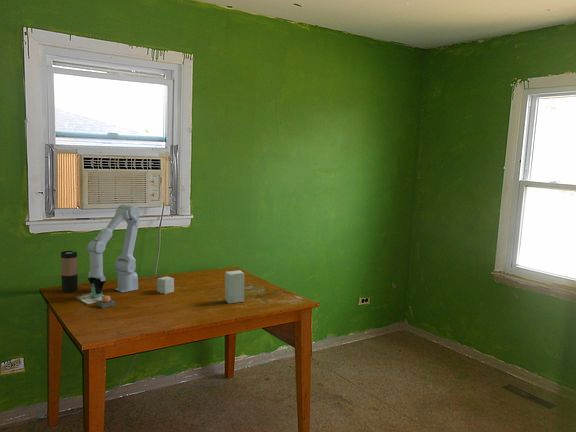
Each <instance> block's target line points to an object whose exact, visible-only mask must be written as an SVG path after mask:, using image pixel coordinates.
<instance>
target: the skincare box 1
mask: <svg viewBox="0 0 576 432" xmlns="http://www.w3.org/2000/svg"><path fill="white" fill-rule="evenodd" d="M159 292H160V294H163V293H164V295H167V294H170V293H174V292H175V278H174V277H170V276H162V277H158V278H157V293H159Z"/></svg>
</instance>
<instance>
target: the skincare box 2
mask: <svg viewBox="0 0 576 432" xmlns="http://www.w3.org/2000/svg"><path fill="white" fill-rule="evenodd" d="M224 286H225V287H224V289H225V290H224V291H225V292H224V293H225V295H224V296H225V297H224V299H225V300H224V301H226V302H227V304H235V303H244V302H245V272H243V271H242V270H241V269H239V270H238V269H237V270H232V271H224Z"/></svg>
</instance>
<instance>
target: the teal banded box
mask: <svg viewBox="0 0 576 432" xmlns="http://www.w3.org/2000/svg"><path fill="white" fill-rule="evenodd" d="M90 286H91V287H90V289H91V292H90V293H91V296H93V297H100V296H102V294H103V291H102V292H101V294H96V289H95V285H94V283H93V284H90Z"/></svg>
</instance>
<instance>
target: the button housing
mask: <svg viewBox="0 0 576 432" xmlns="http://www.w3.org/2000/svg"><path fill="white" fill-rule="evenodd" d="M111 299H112V298H111ZM111 299H110V302H108V303H102V300H101V301H97V303H96V306H97V305H98V306H97V307H99V306H100V307H99V308H101V307H102V308H101V309H106V308H105V307H108V308H111V307H110V306H113V307H116V301H114V300H111Z"/></svg>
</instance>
